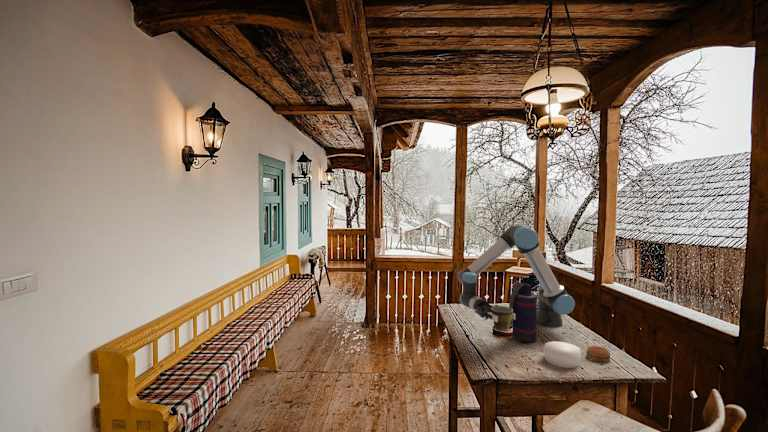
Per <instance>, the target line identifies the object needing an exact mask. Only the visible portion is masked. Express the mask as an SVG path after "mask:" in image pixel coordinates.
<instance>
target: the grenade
mask: <svg viewBox="0 0 768 432" xmlns="http://www.w3.org/2000/svg"><path fill="white" fill-rule="evenodd" d="M532 289H533V285H532V284H530V283H528V282H524V281H522V282H516V283H515V285H514V286H513V290H512V291H511V293H510V295H509V298H508V299H509V303H508V307H509V308H511V309H513V313H514V314H515V320H514V319H511V324H510V327H512V338H514V339H516V340H517V342H518V343H522V344H523V343H524V342H527V343H530V342H531V343H536V340H537V327H538V326H537V325H538V324H537V311H538V295H537V294H535V293H532Z"/></svg>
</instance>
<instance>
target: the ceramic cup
mask: <svg viewBox="0 0 768 432" xmlns="http://www.w3.org/2000/svg"><path fill="white" fill-rule="evenodd" d="M488 309H491V310H492V314H493V315H496V316H498V322H495V321H493V325H494V329H495V331H498V332H501V333H503V332H504V333H506V332H509V331H510V328H511V325H510V324H511V319H512V314H513V309H511V308H509V306H502V305H498V306H496V307H492V308H488ZM488 309H487V311H488ZM488 313H489V311H488Z"/></svg>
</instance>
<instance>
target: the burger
mask: <svg viewBox="0 0 768 432" xmlns="http://www.w3.org/2000/svg"><path fill="white" fill-rule="evenodd" d="M586 357H587V359H590V360H591V361H595V362H601V363H604V362H605V363H608V362H610V361H611V354H610V351H609V350H608V349H607V348H604V347H602V346H596V345H593V346H589V347H587V350H586Z"/></svg>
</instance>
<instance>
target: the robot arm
mask: <svg viewBox="0 0 768 432" xmlns="http://www.w3.org/2000/svg"><path fill="white" fill-rule="evenodd" d="M540 246H541V244H540V242H539V236H538V233H537V231H536V230H535V229H533V228H531V227H530V226H525V225H524V226H523V225H521V224H520V225H519V224H517V225H512V226H510V227H509V228H508V229H507V230H505V231H504V232H503V233H502V234H501V235H500V236H499V237H498V240H496V241H495V242H494V243H493V244H492V245H491V246H490V247H489V248H488V249H486V250H485V251H484V252H482V254H481V255H480V256H478V258H476V259H475V260H473V262H472V263H470V264H469V265H468V266H467V267H466V268H465V269H464V270H460V271H459V272H457V276H456V278H457V280H458V282H459V283H460V284H461V285H462V293H460V295H459V302H460V303H461V305H463V306H464V307H465V308H468V309H470V310H472V311H474V313H476V314H477V315H478V316H479V317H480V318H482V319H484V318H485V320H488V319H489V320H492V321H493V322H494V321H495V322H498V316H496V315H493V314H492V310H491V309H488V308H492V307H496V306H499V305H498V304H494V305H491V304H490V303H489V302H488V301H487V300H486V299H483V298H481V297H479V296H477V283H478V282H477V281H478V279H477V278H478V276H479V275H480V274H481V273H482V272H484V271H485V270H486V269H487V268H488V267H489V266H490V265H492V263H494V262H495V261H496V260H497V259H498V258H500V257H501V256H502V255H503V254H504V253H505V252H507V251H508V250H511V249H513V248H514V247H516V249H517V250H518V253H519V254H520V255H523V256H524V257H525V259H526V261H527V262H528V264H529V266H530V268H531V270H532V272H533V274H534V275H535V276H536V279H537V280H538V282H539V285H538V289H537V293H538V295H537V325H540V326H542V327H549V328H558V327H562V326H563V319H562V316H565V315H569V314H570V313H571V312H573V311H574V308H575V305H576V302H575V299H574V298H573V297H572V296H571V295H570V294H569V293H568V292H567V291H566V289H565V286H564V285H562V284H560V283H559V281H558V280H557V278H556V276H555V274H554V273H553V271H552V269H551V267H550V265H549V264H548V262H547V260H546V259H545V257H544V255H543V253H542V251H541V250H540ZM487 309H488V311H489V313H488V311H487ZM512 319H514V320H515V314H514V313H513V314H512Z"/></svg>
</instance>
